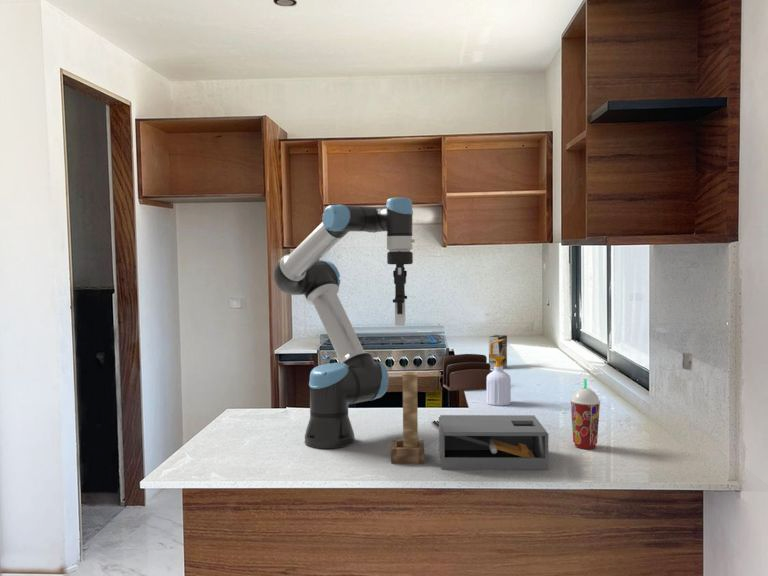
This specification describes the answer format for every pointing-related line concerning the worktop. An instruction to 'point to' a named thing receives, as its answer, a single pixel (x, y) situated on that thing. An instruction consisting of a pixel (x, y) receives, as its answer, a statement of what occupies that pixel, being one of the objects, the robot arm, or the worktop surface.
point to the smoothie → (585, 417)
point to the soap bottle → (498, 382)
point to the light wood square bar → (410, 410)
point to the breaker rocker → (500, 445)
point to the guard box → (498, 428)
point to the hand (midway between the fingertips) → (400, 323)
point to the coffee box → (498, 349)
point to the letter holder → (465, 372)
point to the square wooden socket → (407, 453)
